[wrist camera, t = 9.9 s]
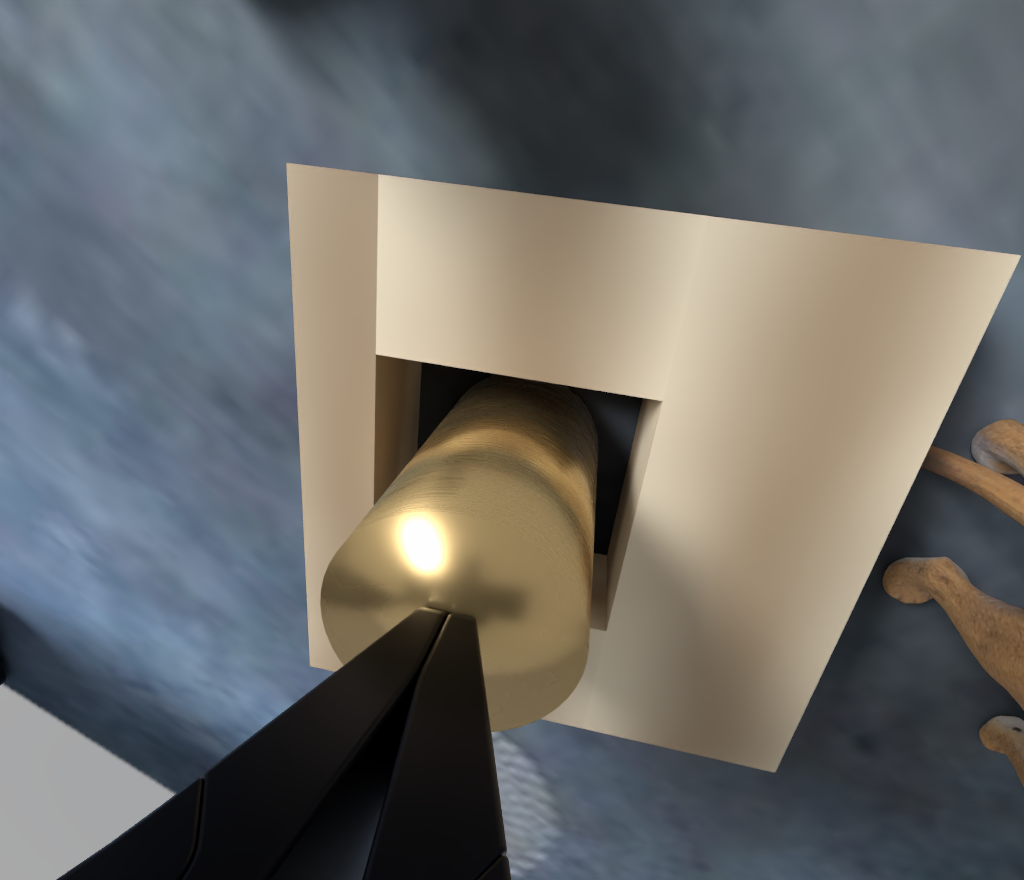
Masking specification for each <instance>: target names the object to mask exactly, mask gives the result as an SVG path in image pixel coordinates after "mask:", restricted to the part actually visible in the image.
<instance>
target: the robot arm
mask: <svg viewBox="0 0 1024 880" xmlns="http://www.w3.org/2000/svg"><path fill="white" fill-rule="evenodd" d="M5 681H6V675H5V672H4V669H3V666H2V664H1V661H0V685H1V684H2V683H4V682H5ZM506 852H507V847H506V840H505V832H504V825H503V817H502V810H501V802H500V795H499V787H498V780H497V772H496V765H495V757H494V749H493V742H492V734H491V727H490V719H489V712H488V704H487V697H486V689H485V682H484V674H483V667H482V659H481V651H480V644H479V636H478V629H477V622H476V620H475V619H474V618H473V617H469V616H464V615H459V614H455V613H451V614H449V615H448V616H447V614H446V613H445V612H444V611H441V610H436V609H431V608H427V607H421V608H418V609H417V610H415V611H414V612H413V613H411V614H410V615H409V616H407V617H406V618H405V619H404V620H402V621H401V622H400V623H398V624H397V625H396V626H394V627H393V628H392V629H391V630H389V631H388V632H387V633H385V634H384V635H383V636H381V637H380V638H379V639H378V640H376V641H375V642H374V643H372V644H371V645H370V646H368V647H367V648H366V649H365V650H363V651H362V652H361V653H359V654H358V655H357V656H355V657H354V658H353V659H352V660H350V661H349V662H348V663H346V664H345V665H344V666H342V667H341V668H340V669H339V670H337V671H336V672H335V673H333V674H332V675H331V676H329V677H328V678H327V679H326V680H324V681H323V682H322V683H320V684H319V685H318V686H316V687H315V688H314V689H313V690H311V691H310V692H309V693H307V694H306V695H305V696H303V697H302V698H301V699H300V700H298V701H297V702H296V703H294V704H293V705H292V706H290V707H289V708H288V709H287V710H285V711H284V712H283V713H281V714H280V715H279V716H277V717H276V718H275V719H274V720H272V721H271V722H270V723H268V724H267V725H266V726H264V727H263V728H262V729H260V730H259V731H258V732H257V733H255V734H254V735H253V736H251V737H250V738H249V739H247V740H246V741H245V742H244V743H242V744H241V745H240V746H238V747H237V748H236V749H234V750H233V751H232V752H231V753H229V754H228V755H227V756H225V757H224V758H223V759H221V760H220V761H219V762H218V763H216V764H215V765H214V766H212V767H211V768H210V769H208V770H207V771H206V772H205V775H204V778H202V777H198V778H196V779H195V780H194V781H192V782H191V783H190V784H189V785H187V786H186V787H185V788H183V789H182V790H181V791H179V792H178V793H177V794H176V795H174V796H173V797H172V798H170V799H169V800H168V801H167V802H165V803H164V804H162V805H161V806H160V807H158V808H157V809H156V810H154V811H153V812H152V813H150V814H149V815H148V816H146V817H145V818H143V819H142V820H141V821H139V822H138V823H137V824H135V825H134V826H133V827H131V828H130V829H129V830H127V831H126V832H124V833H123V834H122V835H120V836H119V837H118V838H117V839H115V840H114V841H112V842H111V843H109V844H108V845H106V846H105V847H104V848H102V849H101V850H99V851H98V852H96V853H95V854H93V855H92V856H90V857H89V858H87V859H86V860H84V861H83V862H82V863H80V864H79V865H77V866H76V867H74V868H73V869H71V870H70V871H68V872H67V873H66V874H65V875H63V876H61V877H60V878H58V879H57V880H511V875H510V868H509V860H508V858H507V857H506Z"/></svg>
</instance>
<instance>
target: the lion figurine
mask: <svg viewBox="0 0 1024 880" xmlns="http://www.w3.org/2000/svg"><path fill="white" fill-rule="evenodd" d="M971 452H972V456H973V457H974V459H975V460H976V461H977V463H975V462H973V461H971V460H968V459H966V458H963V457H961V456H959V455H957V454H955V453H952V452H949V451H946V450H943V449H940V448H938V447H935V446H933V445H931V446H930V448H929V450H928V452H927V455H926V457H925V459H924V461H923V463H922V465H921V467H920V468H923V469H926V470H928V471H931V472H933V473H936V474H938V475H941V476H943V477H945V478H947V479H949V480H951V481H953V482H955V483H958V484H960V485H962V486H964V487H965V488H967V489H969V490H971V491H972V492H974V493H976V494H978V495H979V496H981V497H983V498H984V499H986V500H987V501H989V502H990V503H992V504H993V505H994V506H996V507H997V508H998V509H1000V510H1001V511H1002V512H1004V513H1005V514H1006V515H1008V516H1009V517H1011V518H1012V519H1014V520H1015V521H1017V522H1018V523H1019V524H1021V525H1022V526H1023V527H1024V486H1023V485H1021V484H1020V483H1018V482H1016V481H1014V480H1012V479H1010V478H1008V477H1006V476H1004V475H1002V474H1019V473H1020V474H1021V475H1022V476H1023V478H1024V425H1023V424H1021V423H1020V422H1018V421H1016V420H1014V419H1005V420H1000V421H996V422H994V423H992V424H990V425H988V426H986V427H984V428H982V429H981V430H980V431H978V432H977V433H976V435H975V436H974V438H973V440H972V443H971ZM883 586H884V589H885V591H886V592H887V593H888V594H889V595H890V596H892V597H893V598H895V599H897V600H899V601H901V602H903V603H906V604H916V603H923V602H926V601H928V600H930V599H932V598H934V599H935V600H936V601H937V602H938V603H939V604H940V605H941V607H942V608H943V609H944V610H945V612H946V613H947V615H948V616H949V618H950V619H951V621H952V622H953V624H954V625H955V627H956V629H957V630H958V632H959V633H960V635H961V636H962V638H963V640H964V641H965V643H966V644H967V646H968V648H969V649H970V651H971V652H972V653H973V655H974V656H975V657H976V659H977V660H978V662H979V663H980V664H981V666H982V667H983V668H984V669H985V670H986V671H987V673H988V674H989V675H990V676H991V677H992V678H993V679H994V680H996V681H997V682H998V683H999V684H1000V685H1001V686H1002V687H1004V688H1005V689H1006V690H1007V691H1008V692H1009V693H1010V694H1011V696H1012V697H1013V698H1014V699H1015V700H1016V701H1017V703H1018V704H1019V705H1020V706H1021V708H1022V709H1023V711H1024V609H1022V608H1019V607H1016V606H1013V605H1010V604H1007V603H1005V602H1003V601H1001V600H998V599H996V598H994V597H992V596H989V595H987V594H985V593H983V592H982V591H980V590H979V589H977V588H976V587H974V586H973V585H972V584H971V583H970V582H969V579H968V577H967V575H966V574H965V573H964V571H963V570H962V569H961V568H960V567H959V566H957V565H956V564H955V563H954V562H953V561H952V560H951V559H949V558H947V557H932V558H920V557H906V558H903V559H900V560H897V561H895V562H893V563H892V564H891V565H890V566H889V567H888V568H887V570H886V571H885V574H884V577H883ZM979 736H980V739H981V741H982V743H983V744H984V746H985V747H986V748H988V749H990V750H992V751H997V752H1000V753H1003V754H1006V755H1007V757H1008V758H1009V760H1010V762H1011V763H1012V765H1013V767H1014V768H1015V771H1016V773H1017V775H1018V777H1019V779H1020V781H1021V783H1022V785H1023V787H1024V720H1022V719H1021V718H1018V717H1015V716H997V717H994V718H992V719H990V720H989V721H988V722H987V723H986V724H985V725H983V726H982V728H981V729H980V731H979Z"/></svg>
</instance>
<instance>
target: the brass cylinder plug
mask: <svg viewBox="0 0 1024 880" xmlns="http://www.w3.org/2000/svg"><path fill="white" fill-rule="evenodd" d="M597 467H598V435H597V429H596V426H595V423H594V420H593V418H592V416H591V414H590V411H589V410H588V408H587V407H586V405H585V404H584V402H583V401H582V400H581V399H580V398H579V397H578V395H577V394H575V393H574V392H573V391H572V390H571V389H570V388H568V387H567V386H566V385H561V384H554V383H548V382H542V381H536V380H530V379H524V378H518V377H512V376H505V375H499V374H494V375H491V376H489V377H487V378H485V379H482V380H481V381H479V382H478V383H476V384H475V385H473V386H472V387H471V388H470V389H469V390H467V391H466V393H465V394H464V395H463V396H462V397H461V398H460V400H459V401H458V402H457V403H456V405H455V406H454V407H453V408H452V409H451V411H450V412H449V413H448V414H447V416H446V417H445V418H444V419H443V421H442V422H441V423H440V424H439V426H438V427H437V428H436V429H435V431H434V432H433V433H432V434H431V435H430V437H429V438H428V439H427V440H426V442H425V443H424V444H423V445H422V447H421V448H420V449H419V450H418V452H417V453H416V454H415V455H414V457H413V458H412V459H411V460H410V462H409V463H408V464H407V465H406V466H405V468H404V469H403V470H402V471H401V473H400V474H399V475H398V476H397V478H396V479H395V480H394V481H393V483H392V484H391V485H390V486H389V488H388V489H387V490H386V491H385V492H384V494H383V495H382V496H381V497H380V499H379V500H378V501H377V502H376V504H375V505H374V506H373V507H372V509H371V510H370V511H369V512H368V514H367V515H366V516H365V517H364V518H363V520H362V521H361V522H360V523H359V525H358V526H357V527H356V528H355V530H354V531H353V532H352V533H351V535H350V536H349V537H348V538H347V540H346V541H345V542H344V543H343V545H342V546H341V547H340V548H339V549H338V551H337V552H336V553H335V555H334V557H333V558H332V560H331V562H330V563H329V565H328V567H327V570H326V572H325V575H324V578H323V583H322V587H321V597H320V607H321V616H322V621H323V625H324V629H325V632H326V635H327V637H328V639H329V642H330V644H331V646H332V648H333V650H334V652H335V653H336V655H337V657H338V659H339V660H340V661H341V663H342V664H343V665H345V664H346V663H348V662H349V661H350V660H352V659H353V658H354V657H355V656H357V655H358V654H359V653H361V652H362V651H363V650H365V649H366V648H367V647H368V646H370V645H371V644H372V643H374V642H375V641H376V640H378V639H379V638H380V637H381V636H383V635H384V634H385V633H387V632H388V631H389V630H391V629H392V628H393V627H394V626H396V625H397V624H398V623H400V622H401V621H402V620H404V619H405V618H406V617H407V616H409V615H410V614H411V613H413V612H414V611H415V610H417V609H418V608H421V607H427V608H431V609H436V610H441V611H444V612H445V613H446V614H447V616H448V615H449V614H451V613H455V614H459V615H464V616H469V617H473V618H474V619H475V620H476V622H477V629H478V636H479V644H480V651H481V659H482V667H483V674H484V682H485V689H486V697H487V704H488V712H489V719H490V727H491V732H495V731H504V730H509V729H513V728H518V727H521V726H524V725H527V724H530V723H533V722H535V721H537V720H539V719H541V718H543V717H545V716H547V715H548V714H549V713H551V712H552V711H554V710H555V709H557V708H558V707H559V706H560V705H561V704H562V703H563V702H564V701H566V700H567V699H568V697H569V696H570V695H571V694H572V692H573V691H574V690H575V688H576V687H577V685H578V683H579V681H580V680H581V678H582V676H583V673H584V670H585V667H586V664H587V659H588V652H589V640H590V618H591V597H592V575H593V553H594V532H595V510H596V489H597Z"/></svg>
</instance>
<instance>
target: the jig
mask: <svg viewBox="0 0 1024 880" xmlns="http://www.w3.org/2000/svg"><path fill="white" fill-rule="evenodd" d="M286 164H287V186H288V207H289V228H290V249H291V270H292V292H293V313H294V334H295V355H296V376H297V397H298V419H299V440H300V461H301V482H302V503H303V525H304V546H305V567H306V588H307V609H308V631H309V652H310V666H313V667H317V668H321V669H326V670H330V671H334V672H336V671H337V670H339V669H340V668H341V667H342V666H344V665H343V664H342V663H341V661H340V660H339V659H338V657H337V655H336V653H335V652H334V650H333V648H332V646H331V644H330V642H329V639H328V637H327V635H326V632H325V629H324V625H323V621H322V616H321V607H320V597H321V587H322V583H323V578H324V575H325V572H326V570H327V567H328V565H329V563H330V562H331V560H332V558H333V557H334V555H335V553H336V552H337V551H338V549H339V548H340V547H341V546H342V545H343V543H344V542H345V541H346V540H347V538H348V537H349V536H350V535H351V533H352V532H353V531H354V530H355V528H356V527H357V526H358V525H359V523H360V522H361V521H362V520H363V518H364V517H365V516H366V515H367V514H368V512H369V511H370V510H371V509H372V507H373V506H374V505H375V504H376V502H377V501H378V500H379V499H380V497H381V496H382V495H383V494H384V492H385V491H386V490H387V489H388V488H389V486H390V485H391V484H392V483H393V481H394V480H395V479H396V478H397V476H398V475H399V474H400V473H401V471H402V470H403V469H404V468H405V466H406V465H407V464H408V463H409V462H410V460H411V459H412V458H413V457H414V455H415V454H416V453H417V447H418V427H419V407H420V388H421V368H422V362H426V363H432V364H438V365H444V366H450V367H456V368H462V369H469V370H475V371H481V372H487V373H493V374H499V375H505V376H512V377H518V378H524V379H530V380H536V381H542V382H548V383H554V384H561V385H567V386H573V387H579V388H585V389H591V390H597V391H604V392H610V393H616V394H622V395H628V396H634V397H640V398H643V400H642V404H641V408H640V413H639V417H638V422H637V426H636V430H635V435H634V439H633V443H632V448H631V452H630V457H629V461H628V465H627V470H626V474H625V479H624V483H623V487H622V492H621V496H620V500H619V505H618V509H617V514H616V518H615V522H614V527H613V531H612V536H611V540H610V544H609V549H608V553H607V555H602V554H597V553H593V575H592V597H591V618H590V640H589V652H588V659H587V664H586V667H585V670H584V673H583V676H582V678H581V680H580V681H579V683H578V685H577V687H576V688H575V690H574V691H573V692H572V694H571V695H570V696H569V697H568V699H567V700H566V701H564V702H563V703H562V704H561V705H560V706H559V707H558V708H557V709H555V710H554V711H552V712H551V713H549V714H548V715H547V716H545V717H543V718H541V719H543V720H547V721H552V722H556V723H561V724H565V725H569V726H574V727H578V728H582V729H587V730H591V731H595V732H600V733H604V734H608V735H613V736H617V737H621V738H626V739H630V740H635V741H639V742H643V743H648V744H652V745H656V746H661V747H665V748H669V749H674V750H678V751H682V752H687V753H691V754H695V755H700V756H704V757H708V758H713V759H717V760H722V761H726V762H730V763H735V764H739V765H743V766H748V767H752V768H756V769H761V770H765V771H769V772H774V773H775V772H776V770H777V768H778V766H779V763H780V761H781V759H782V757H783V755H784V753H785V751H786V749H787V747H788V745H789V742H790V740H791V738H792V736H793V734H794V732H795V730H796V728H797V726H798V724H799V721H800V719H801V717H802V715H803V713H804V711H805V709H806V707H807V705H808V703H809V700H810V698H811V696H812V694H813V692H814V690H815V688H816V686H817V684H818V682H819V679H820V677H821V675H822V673H823V671H824V669H825V667H826V665H827V663H828V660H829V658H830V656H831V654H832V652H833V650H834V648H835V646H836V644H837V642H838V639H839V637H840V635H841V633H842V631H843V629H844V627H845V625H846V623H847V621H848V618H849V616H850V614H851V612H852V610H853V608H854V606H855V604H856V602H857V600H858V597H859V595H860V593H861V591H862V589H863V587H864V585H865V583H866V581H867V579H868V576H869V574H870V572H871V570H872V568H873V566H874V564H875V562H876V560H877V558H878V555H879V553H880V551H881V549H882V547H883V545H884V543H885V541H886V539H887V536H888V534H889V532H890V530H891V528H892V526H893V524H894V522H895V520H896V518H897V515H898V513H899V511H900V509H901V507H902V505H903V503H904V501H905V499H906V497H907V494H908V492H909V490H910V488H911V486H912V484H913V482H914V480H915V478H916V476H917V473H918V471H919V469H920V467H921V465H922V463H923V461H924V459H925V457H926V455H927V452H928V450H929V448H930V446H931V444H932V442H933V440H934V438H935V436H936V434H937V431H938V429H939V427H940V425H941V423H942V421H943V419H944V417H945V415H946V412H947V410H948V408H949V406H950V404H951V402H952V400H953V398H954V396H955V394H956V391H957V389H958V387H959V385H960V383H961V381H962V379H963V377H964V375H965V373H966V370H967V368H968V366H969V364H970V362H971V360H972V358H973V356H974V354H975V352H976V349H977V347H978V345H979V343H980V341H981V339H982V337H983V335H984V333H985V331H986V328H987V326H988V324H989V322H990V320H991V318H992V316H993V314H994V312H995V310H996V307H997V305H998V303H999V301H1000V299H1001V297H1002V295H1003V293H1004V291H1005V288H1006V286H1007V284H1008V282H1009V280H1010V278H1011V276H1012V274H1013V272H1014V270H1015V267H1016V265H1017V263H1018V261H1019V259H1020V257H1021V255H1013V254H1005V253H998V252H990V251H982V250H974V249H966V248H958V247H950V246H942V245H934V244H926V243H918V242H910V241H902V240H894V239H886V238H879V237H871V236H863V235H855V234H847V233H839V232H831V231H823V230H815V229H807V228H799V227H791V226H783V225H775V224H768V223H760V222H752V221H744V220H736V219H728V218H720V217H712V216H704V215H696V214H688V213H680V212H672V211H664V210H656V209H649V208H641V207H633V206H625V205H617V204H609V203H601V202H593V201H585V200H577V199H569V198H561V197H553V196H545V195H537V194H530V193H522V192H514V191H506V190H498V189H490V188H482V187H474V186H466V185H458V184H450V183H442V182H434V181H426V180H419V179H411V178H403V177H395V176H387V175H379V174H371V173H363V172H355V171H347V170H339V169H331V168H323V167H315V166H307V165H300V164H292V163H286Z"/></svg>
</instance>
